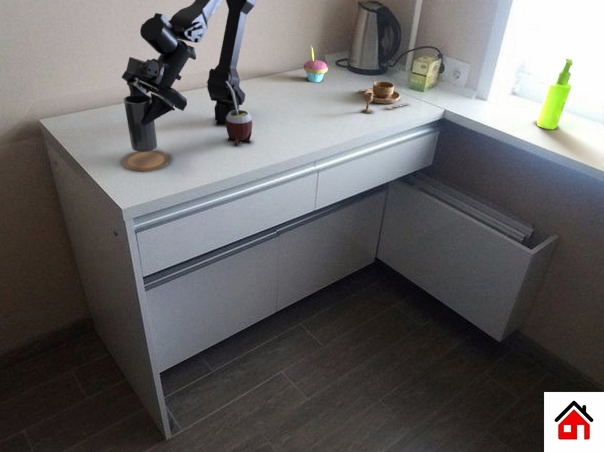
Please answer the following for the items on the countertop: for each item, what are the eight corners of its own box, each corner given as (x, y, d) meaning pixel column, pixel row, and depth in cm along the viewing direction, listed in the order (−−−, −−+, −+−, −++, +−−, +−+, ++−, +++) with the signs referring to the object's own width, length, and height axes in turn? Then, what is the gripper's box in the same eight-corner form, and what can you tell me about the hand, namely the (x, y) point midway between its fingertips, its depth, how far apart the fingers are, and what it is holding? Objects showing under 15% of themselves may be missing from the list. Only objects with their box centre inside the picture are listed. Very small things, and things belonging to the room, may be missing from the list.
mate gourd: (248, 148, 131) (247, 93, 123) (219, 144, 132) (217, 89, 124) (255, 137, 137) (255, 83, 129) (228, 133, 138) (226, 80, 130)
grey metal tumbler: (159, 141, 123) (153, 94, 116) (154, 152, 118) (147, 104, 111) (135, 140, 123) (128, 93, 116) (128, 151, 118) (120, 103, 111)
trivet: (173, 151, 127) (173, 151, 127) (163, 172, 118) (163, 171, 118) (129, 150, 127) (129, 149, 127) (117, 170, 118) (117, 169, 118)
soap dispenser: (555, 122, 158) (578, 59, 147) (557, 130, 152) (580, 65, 141) (535, 119, 159) (557, 56, 148) (536, 127, 154) (558, 62, 143)
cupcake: (301, 82, 178) (303, 48, 171) (305, 75, 185) (307, 42, 178) (325, 84, 177) (327, 50, 170) (327, 77, 184) (330, 44, 177)
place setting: (413, 104, 165) (416, 87, 162) (367, 114, 155) (369, 96, 152) (378, 88, 177) (380, 71, 174) (333, 97, 167) (335, 79, 164)
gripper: (122, 34, 114) (87, 91, 114) (170, 52, 104) (132, 115, 104) (155, 62, 124) (123, 115, 123) (203, 81, 114) (167, 139, 113)
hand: (135, 120), depth 116 cm, fingers closed on grey metal tumbler, 6 cm apart
